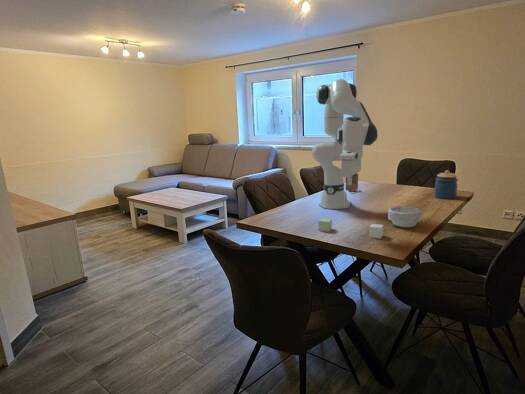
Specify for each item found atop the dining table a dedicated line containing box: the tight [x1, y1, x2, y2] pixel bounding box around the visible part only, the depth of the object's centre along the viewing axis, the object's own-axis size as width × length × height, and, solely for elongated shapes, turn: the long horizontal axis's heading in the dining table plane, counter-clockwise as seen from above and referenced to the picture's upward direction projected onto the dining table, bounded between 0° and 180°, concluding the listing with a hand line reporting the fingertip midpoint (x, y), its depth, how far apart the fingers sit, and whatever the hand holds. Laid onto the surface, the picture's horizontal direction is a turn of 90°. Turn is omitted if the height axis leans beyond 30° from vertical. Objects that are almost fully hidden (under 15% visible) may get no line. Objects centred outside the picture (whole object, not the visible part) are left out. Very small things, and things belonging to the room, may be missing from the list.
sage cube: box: [318, 217, 333, 233], centre depth 163 cm, size 5×5×5 cm
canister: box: [433, 169, 459, 200], centre depth 216 cm, size 13×13×18 cm
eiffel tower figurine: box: [347, 189, 363, 195], centre depth 244 cm, size 15×10×13 cm
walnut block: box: [345, 173, 359, 191], centre depth 154 cm, size 4×4×7 cm
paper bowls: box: [387, 205, 423, 228], centre depth 165 cm, size 15×15×8 cm
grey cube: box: [368, 223, 384, 240], centre depth 151 cm, size 5×5×5 cm
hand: (351, 183), depth 154 cm, fingers closed on walnut block, 4 cm apart
